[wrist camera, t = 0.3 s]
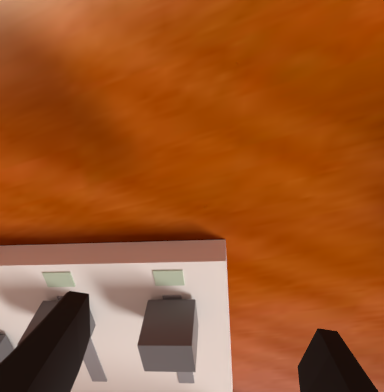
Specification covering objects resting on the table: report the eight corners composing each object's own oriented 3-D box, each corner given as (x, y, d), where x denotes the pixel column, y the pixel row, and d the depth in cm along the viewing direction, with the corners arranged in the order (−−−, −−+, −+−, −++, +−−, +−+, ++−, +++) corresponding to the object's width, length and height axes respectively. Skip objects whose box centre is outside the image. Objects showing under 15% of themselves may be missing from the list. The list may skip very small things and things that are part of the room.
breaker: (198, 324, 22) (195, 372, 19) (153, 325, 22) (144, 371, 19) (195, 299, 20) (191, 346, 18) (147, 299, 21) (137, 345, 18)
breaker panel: (232, 377, 28) (233, 403, 27) (4, 373, 31) (-10, 397, 29) (225, 239, 21) (226, 262, 19) (-78, 247, 23) (-103, 268, 21)
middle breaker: (95, 325, 22) (78, 370, 20) (53, 325, 23) (31, 369, 20) (86, 300, 21) (67, 344, 19) (42, 300, 22) (17, 344, 19)
